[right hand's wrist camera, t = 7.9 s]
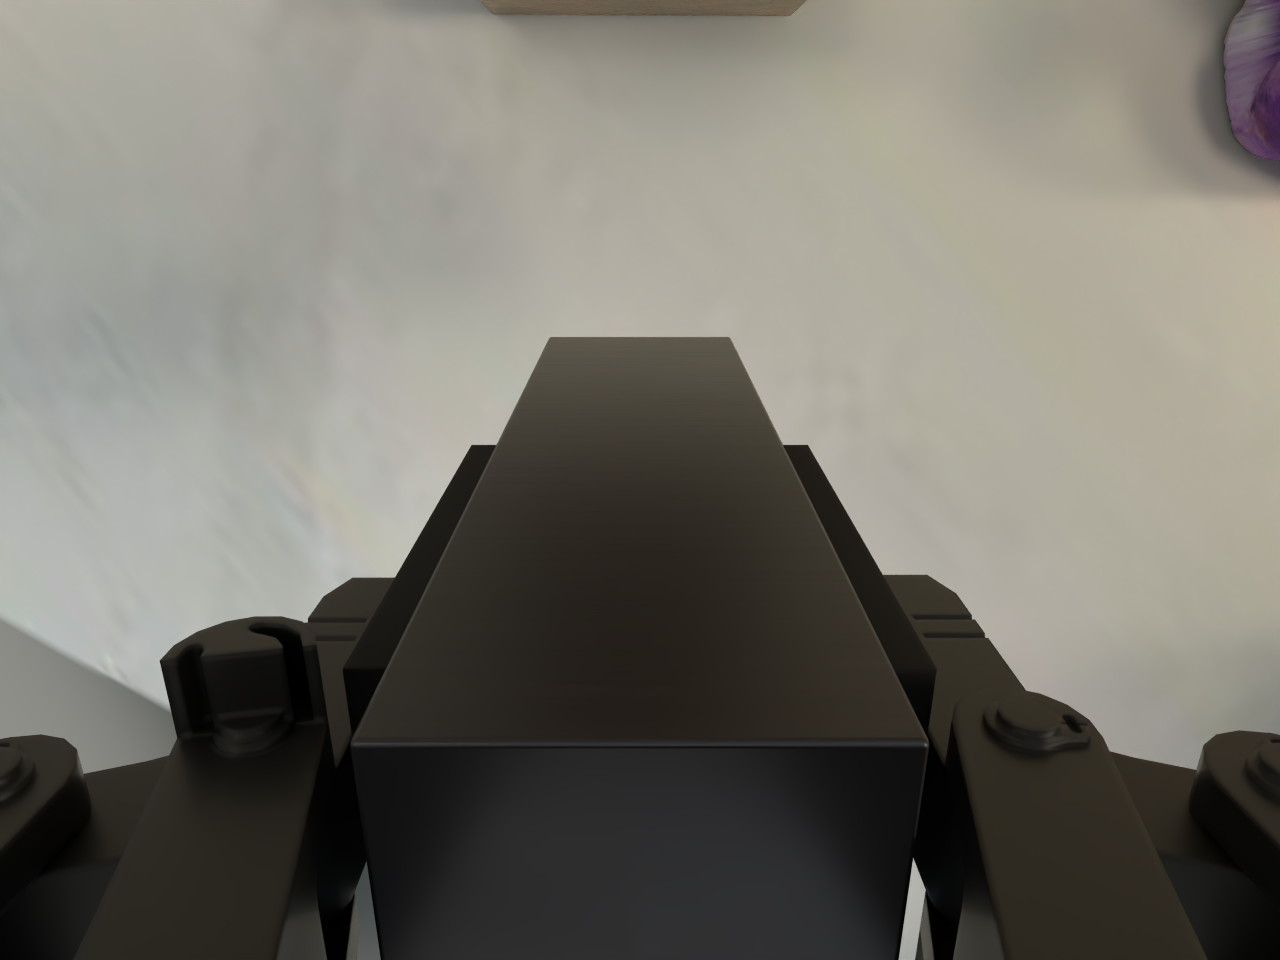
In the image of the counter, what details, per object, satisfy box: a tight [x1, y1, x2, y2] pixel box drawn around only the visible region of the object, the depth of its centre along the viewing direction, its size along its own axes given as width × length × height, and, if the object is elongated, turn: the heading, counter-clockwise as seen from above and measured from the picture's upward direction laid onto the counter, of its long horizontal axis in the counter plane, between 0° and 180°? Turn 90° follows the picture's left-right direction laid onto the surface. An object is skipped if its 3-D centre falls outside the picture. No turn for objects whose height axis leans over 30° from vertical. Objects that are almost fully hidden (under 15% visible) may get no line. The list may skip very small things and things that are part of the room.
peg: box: [350, 337, 929, 960], centre depth 13 cm, size 4×4×14 cm
